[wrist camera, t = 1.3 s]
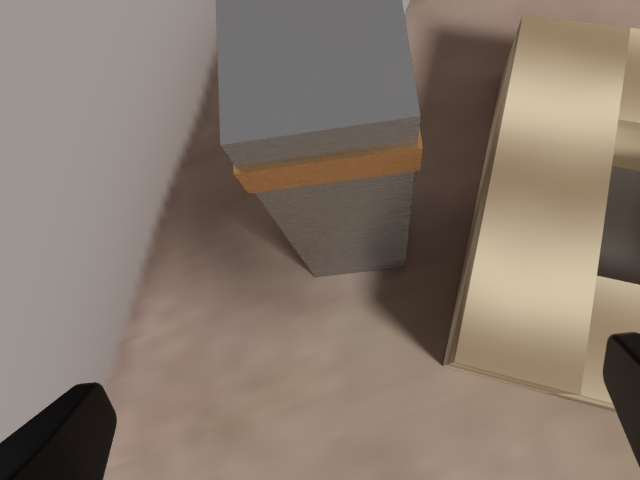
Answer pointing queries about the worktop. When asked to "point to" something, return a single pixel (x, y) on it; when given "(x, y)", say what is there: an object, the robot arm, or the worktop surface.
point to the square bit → (323, 124)
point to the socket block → (555, 214)
